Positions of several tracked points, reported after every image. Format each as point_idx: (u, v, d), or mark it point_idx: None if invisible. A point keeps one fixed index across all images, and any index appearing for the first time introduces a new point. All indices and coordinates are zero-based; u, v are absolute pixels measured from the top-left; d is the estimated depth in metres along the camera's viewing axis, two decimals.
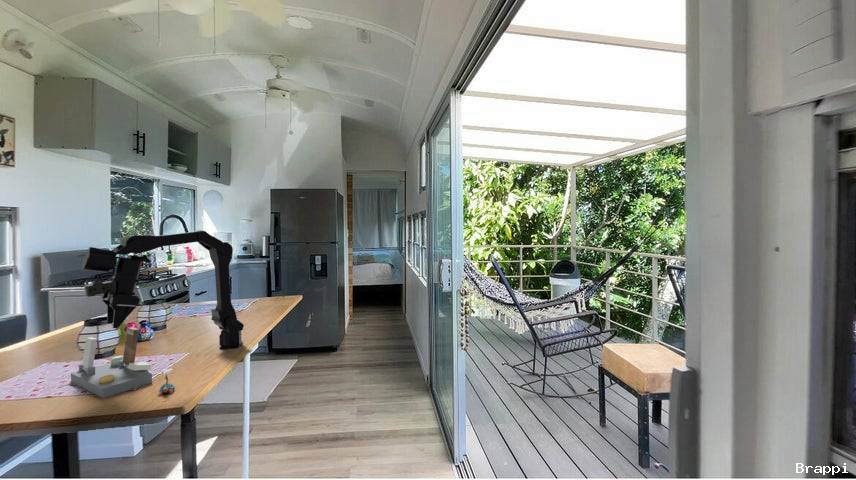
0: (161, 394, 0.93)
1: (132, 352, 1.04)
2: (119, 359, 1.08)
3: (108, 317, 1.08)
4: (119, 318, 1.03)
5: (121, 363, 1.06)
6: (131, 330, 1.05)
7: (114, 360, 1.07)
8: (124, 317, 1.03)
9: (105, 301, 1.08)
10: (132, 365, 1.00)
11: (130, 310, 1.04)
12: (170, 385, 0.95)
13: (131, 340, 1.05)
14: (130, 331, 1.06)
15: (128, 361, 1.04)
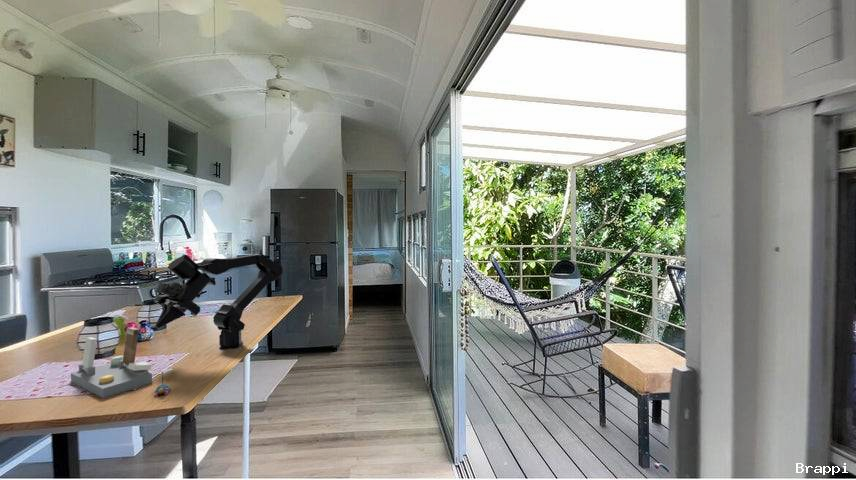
0: (156, 395, 0.92)
1: (132, 352, 1.04)
2: (119, 359, 1.08)
3: (159, 321, 1.12)
4: (166, 319, 1.13)
5: (121, 363, 1.06)
6: (131, 330, 1.05)
7: (114, 360, 1.07)
8: (170, 320, 1.14)
9: (165, 305, 1.15)
10: (132, 365, 1.00)
11: (178, 316, 1.15)
12: (166, 386, 0.95)
13: (131, 340, 1.05)
14: (130, 331, 1.06)
15: (128, 361, 1.04)
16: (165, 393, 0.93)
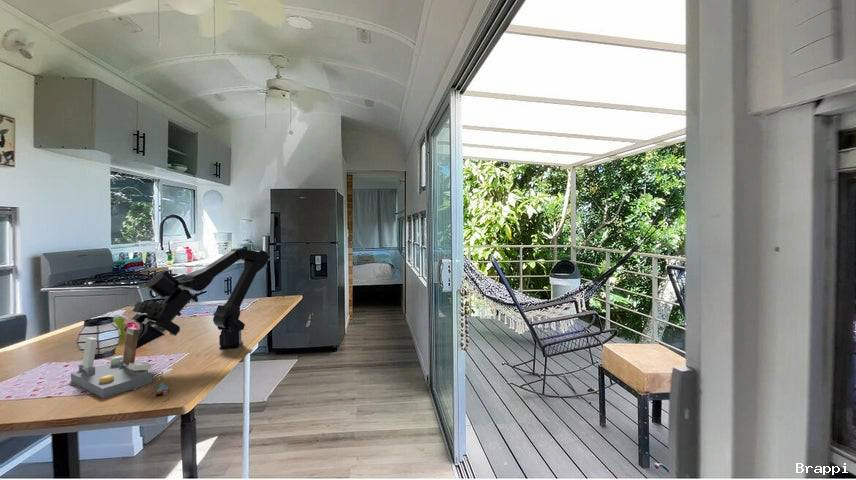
0: (155, 395, 0.92)
1: (132, 352, 1.04)
2: (119, 359, 1.08)
3: None
4: (144, 340, 1.08)
5: (121, 363, 1.06)
6: (131, 330, 1.05)
7: (114, 360, 1.07)
8: (148, 341, 1.08)
9: (143, 325, 1.09)
10: (132, 365, 1.00)
11: (157, 336, 1.10)
12: (164, 386, 0.94)
13: (131, 340, 1.05)
14: (130, 331, 1.05)
15: (128, 361, 1.04)
16: (163, 393, 0.93)
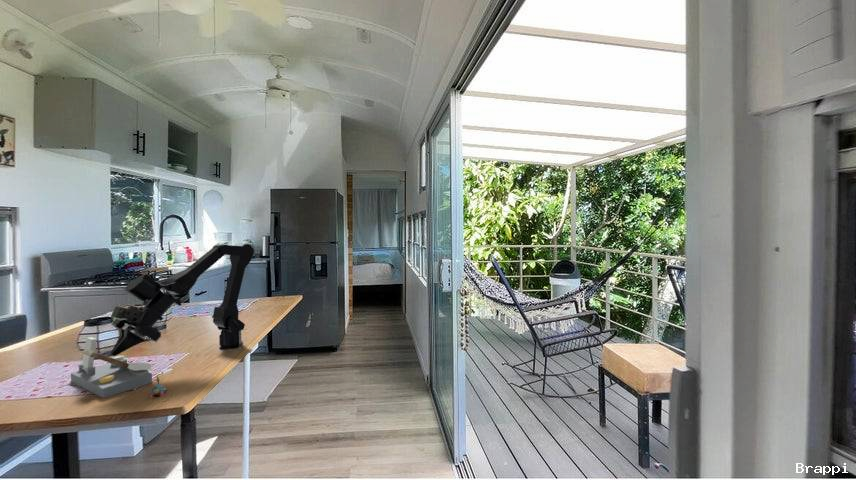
0: (152, 396, 0.91)
1: (115, 363, 1.01)
2: (119, 359, 1.08)
3: (115, 348, 1.03)
4: (123, 346, 1.03)
5: None
6: None
7: None
8: (127, 347, 1.04)
9: (123, 330, 1.05)
10: (132, 365, 1.00)
11: (137, 342, 1.05)
12: (161, 387, 0.94)
13: (101, 359, 0.98)
14: None
15: None
16: (160, 394, 0.92)
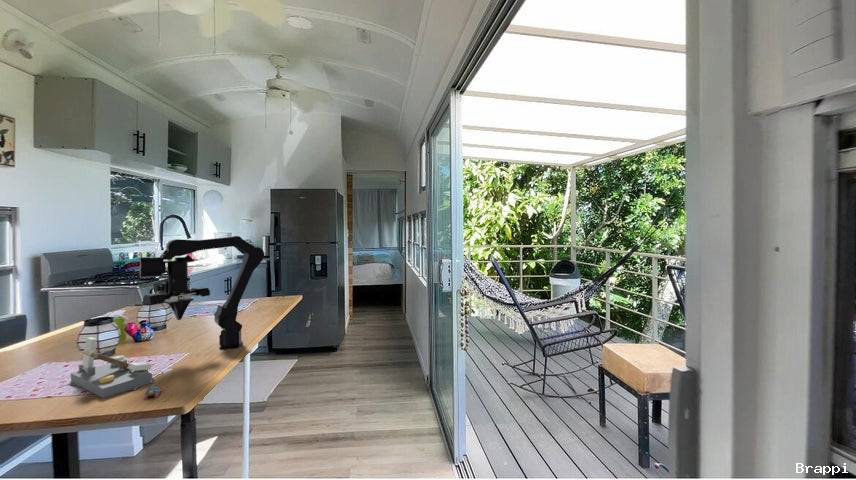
0: (146, 397, 0.91)
1: (115, 363, 1.01)
2: (119, 359, 1.08)
3: None
4: (175, 312, 1.21)
5: None
6: None
7: None
8: (176, 311, 1.20)
9: None
10: (132, 365, 1.00)
11: (175, 305, 1.19)
12: (156, 388, 0.93)
13: (101, 359, 0.98)
14: None
15: None
16: (155, 395, 0.92)
